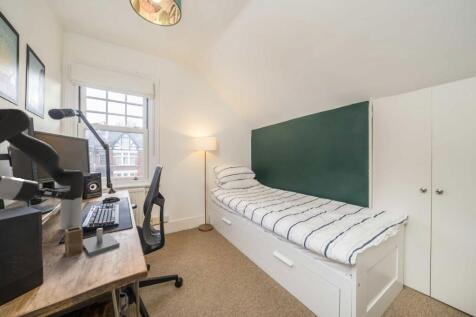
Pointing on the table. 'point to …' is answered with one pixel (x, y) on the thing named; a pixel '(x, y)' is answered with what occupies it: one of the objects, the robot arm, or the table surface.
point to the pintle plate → (99, 243)
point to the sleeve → (73, 241)
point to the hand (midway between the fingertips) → (69, 197)
